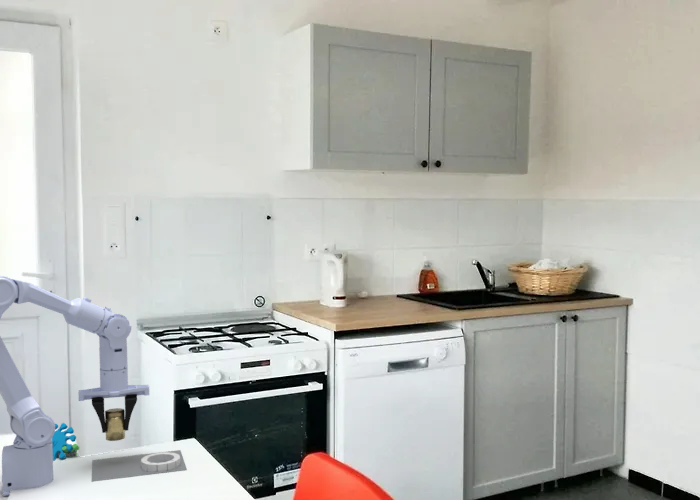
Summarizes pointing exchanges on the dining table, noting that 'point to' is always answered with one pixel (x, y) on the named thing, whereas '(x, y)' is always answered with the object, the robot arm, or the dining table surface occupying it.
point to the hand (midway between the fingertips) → (115, 430)
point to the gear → (63, 442)
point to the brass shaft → (115, 424)
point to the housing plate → (137, 465)
